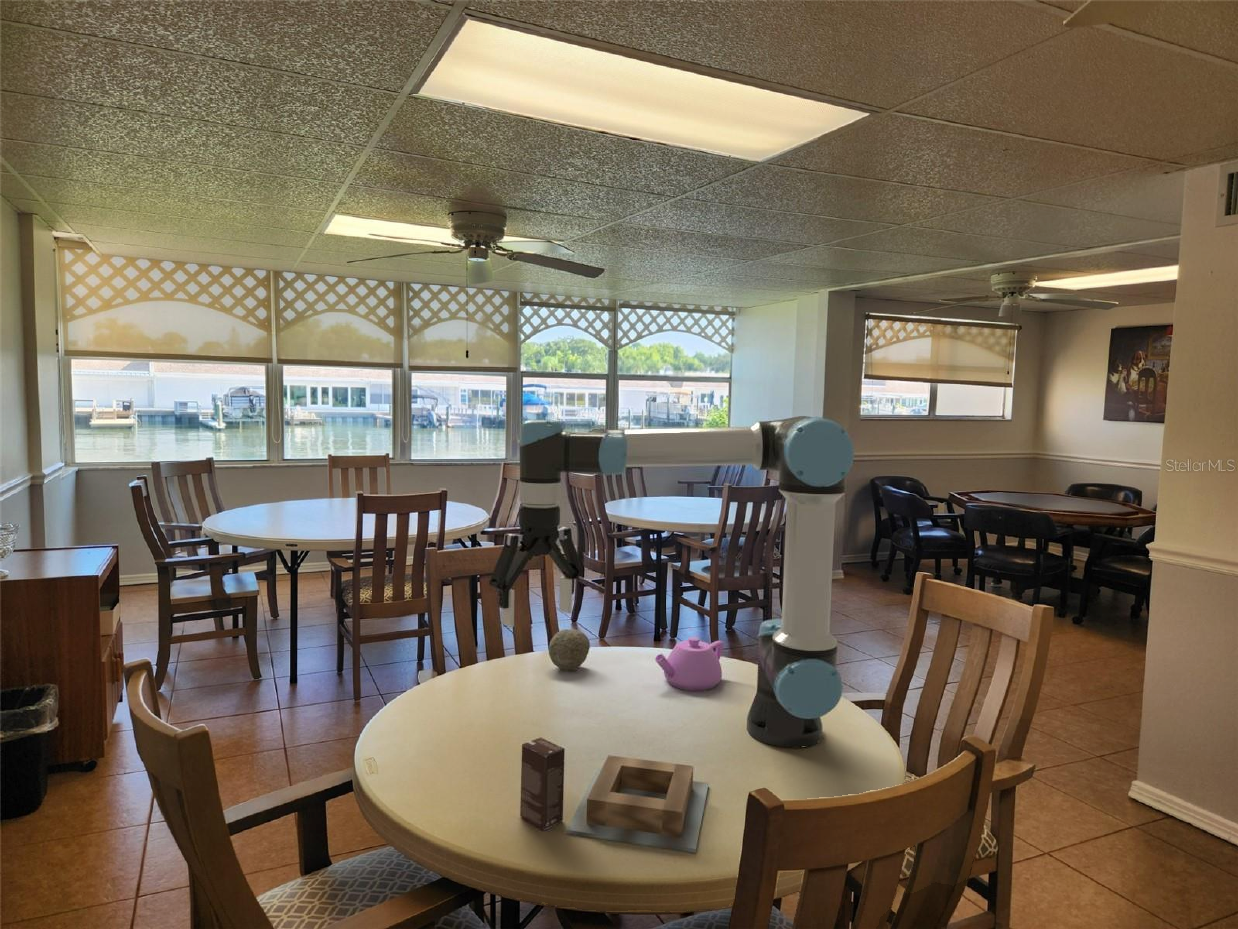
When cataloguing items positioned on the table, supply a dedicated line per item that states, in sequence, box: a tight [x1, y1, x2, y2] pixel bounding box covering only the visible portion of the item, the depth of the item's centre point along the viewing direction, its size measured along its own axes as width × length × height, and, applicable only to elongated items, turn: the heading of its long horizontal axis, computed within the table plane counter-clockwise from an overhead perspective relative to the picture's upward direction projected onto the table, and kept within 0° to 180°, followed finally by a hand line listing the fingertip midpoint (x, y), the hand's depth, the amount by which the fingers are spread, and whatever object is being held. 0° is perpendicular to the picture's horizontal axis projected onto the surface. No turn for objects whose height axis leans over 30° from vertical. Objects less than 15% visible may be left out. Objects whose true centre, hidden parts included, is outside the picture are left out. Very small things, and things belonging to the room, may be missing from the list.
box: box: [519, 737, 566, 831], centre depth 120 cm, size 6×4×12 cm
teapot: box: [654, 636, 724, 692], centre depth 180 cm, size 14×20×11 cm
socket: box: [566, 754, 709, 854], centre depth 124 cm, size 20×20×5 cm
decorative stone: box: [548, 628, 591, 672], centre depth 186 cm, size 10×8×10 cm
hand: (537, 618), depth 140 cm, fingers open, 13 cm apart
